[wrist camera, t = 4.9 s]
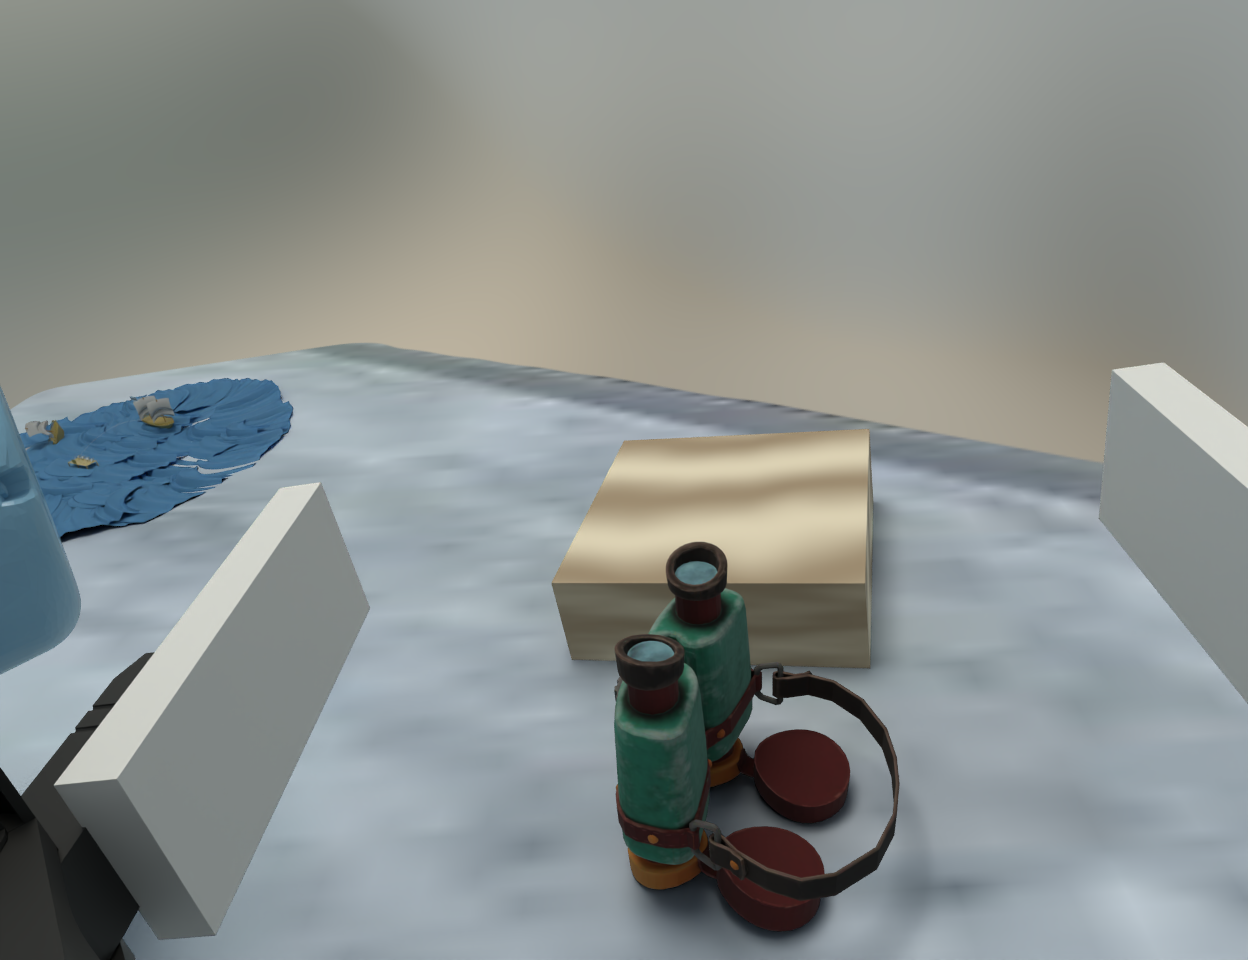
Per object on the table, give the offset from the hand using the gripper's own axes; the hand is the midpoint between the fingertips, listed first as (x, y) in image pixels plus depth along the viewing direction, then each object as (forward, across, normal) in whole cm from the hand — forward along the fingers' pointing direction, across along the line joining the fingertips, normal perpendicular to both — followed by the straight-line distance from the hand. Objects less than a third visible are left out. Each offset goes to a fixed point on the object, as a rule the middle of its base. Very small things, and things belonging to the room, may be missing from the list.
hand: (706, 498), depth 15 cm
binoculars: (+10, 0, -20) cm, 22 cm away
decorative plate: (+54, -51, -21) cm, 77 cm away
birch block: (+26, 0, -20) cm, 33 cm away
